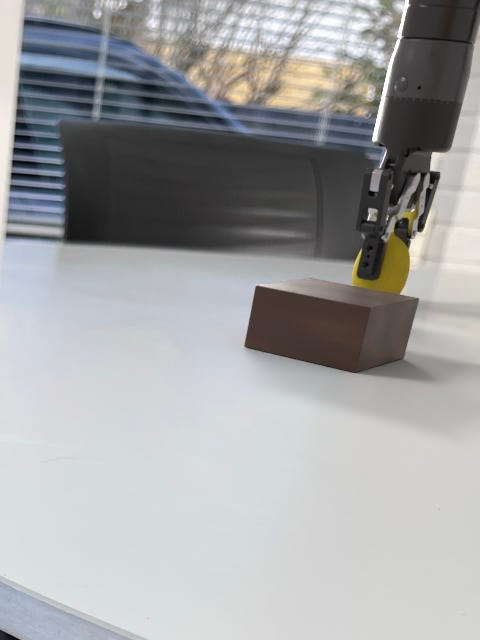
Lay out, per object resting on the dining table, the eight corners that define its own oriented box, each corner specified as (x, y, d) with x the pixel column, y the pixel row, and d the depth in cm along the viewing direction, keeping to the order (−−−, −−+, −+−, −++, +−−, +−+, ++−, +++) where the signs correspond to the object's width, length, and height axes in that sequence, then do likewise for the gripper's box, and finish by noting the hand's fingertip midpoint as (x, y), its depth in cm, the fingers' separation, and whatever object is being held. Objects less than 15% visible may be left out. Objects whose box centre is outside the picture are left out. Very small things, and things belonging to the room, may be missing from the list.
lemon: (390, 319, 108) (411, 236, 105) (337, 309, 111) (356, 228, 107) (404, 313, 112) (424, 233, 109) (352, 304, 115) (370, 226, 111)
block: (297, 335, 96) (309, 277, 94) (404, 358, 90) (419, 298, 88) (243, 346, 89) (255, 285, 87) (355, 372, 83) (370, 307, 81)
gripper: (433, 94, 95) (386, 288, 103) (486, 103, 105) (439, 279, 113) (355, 88, 99) (315, 275, 107) (413, 97, 109) (373, 268, 117)
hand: (379, 276), depth 110 cm, fingers closed on lemon, 5 cm apart
